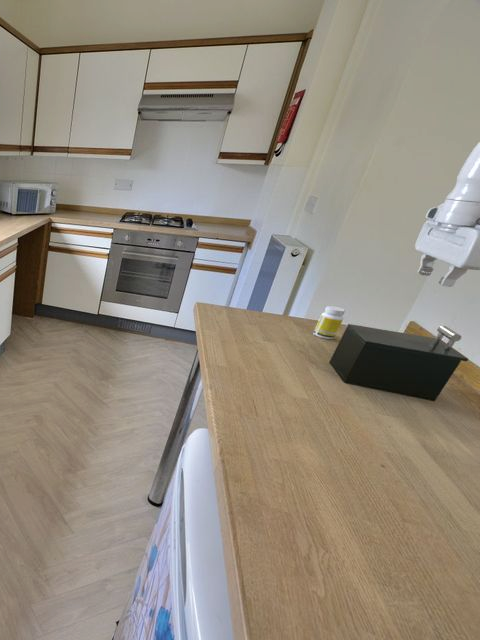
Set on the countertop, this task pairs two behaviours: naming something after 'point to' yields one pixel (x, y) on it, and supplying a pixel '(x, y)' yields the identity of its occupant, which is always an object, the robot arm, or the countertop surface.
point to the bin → (391, 368)
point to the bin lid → (412, 341)
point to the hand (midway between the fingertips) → (433, 280)
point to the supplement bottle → (329, 322)
